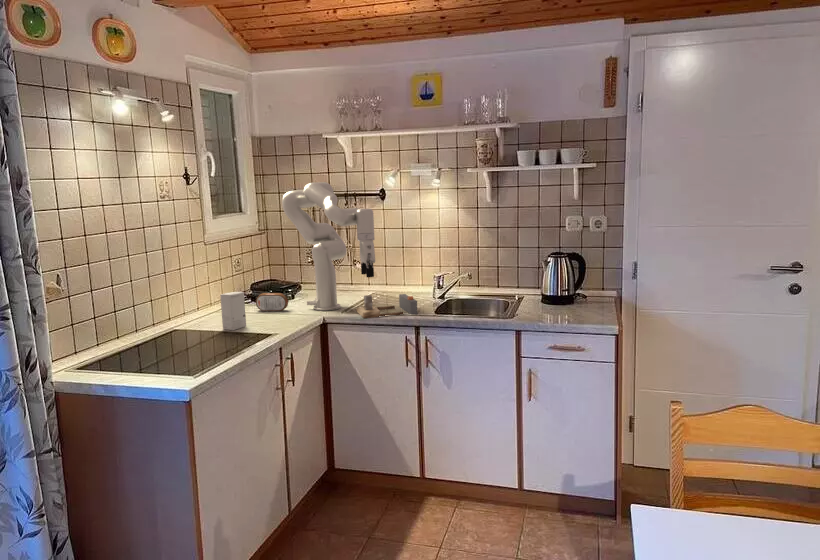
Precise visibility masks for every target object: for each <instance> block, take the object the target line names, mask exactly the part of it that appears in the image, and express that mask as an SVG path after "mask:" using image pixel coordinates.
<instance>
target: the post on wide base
mask: <svg viewBox="0 0 820 560" xmlns="http://www.w3.org/2000/svg"><path fill="white" fill-rule="evenodd" d="M363 303H364V304H363V306H359V307H357V308H356V309H357V312H356V313H358V314H359V315H360V316H361V317H362V318H363V315H373V314H381V310H379V309H377V308H376V306H374V305H373V296H372V295H371V294H368V295H364V296H363Z"/></svg>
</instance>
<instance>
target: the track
mask: <svg viewBox="0 0 820 560" xmlns="http://www.w3.org/2000/svg"><path fill="white" fill-rule="evenodd" d="M375 307H376V306H375ZM395 307H396V306H395V305H387V306H377V307H376V308H377V309H379V310H380V311H383V310H385V309H386V310H394V309H395ZM355 310H356V311H355V312H356V313H358V312H357V308H356V309H355ZM400 314H403V315H404V311H396V312H385V313H380V314H373V315H363V317H362V318H363V319H374V318H380V317H379V316H385V315H396V316H401V315H400ZM385 317H386V316H385Z"/></svg>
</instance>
